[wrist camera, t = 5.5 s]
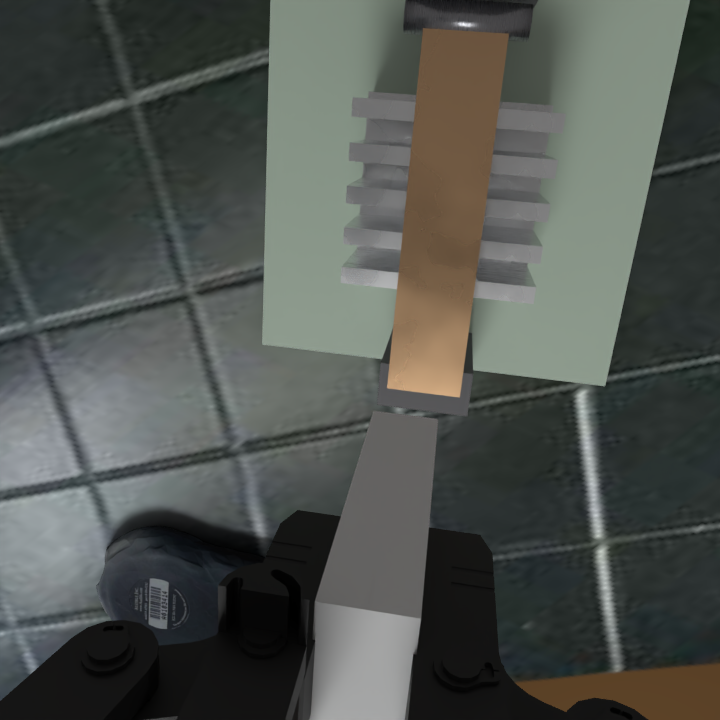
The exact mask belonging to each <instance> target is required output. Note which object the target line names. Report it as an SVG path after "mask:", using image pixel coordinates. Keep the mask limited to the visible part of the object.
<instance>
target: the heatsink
mask: <svg viewBox="0 0 720 720" xmlns="http://www.w3.org/2000/svg"><path fill="white" fill-rule="evenodd" d="M415 104H416V95H408V94H395V93H382V92H369V93H368V98H356V97H353V100H352V115H351V117H362V118H367V121H366V135H365V139H363V140H359V141H354V142H350V146H349V161H355V162H363V176H362V177H361V178H359V179H358V180H356V181H354V182H352V183H351V184H349V185H347V192H346V203H347V204H358V205H360V213H359V214H358V215H357V216H356V217H355V218H354V219H353V220H351V221H350V222H349V223H348V224H347V225H346V226H345V227H344V238H343V244H348V245H357V249H356V250H355V251H354V252H353V254H352V255H351V256H350V257H349V258H348V260H347V261H346V262H345V263H344V264H343V266H342V268H341V283H345V284H355V285H364V286H373V287H382V288H391V289H397V284H398V274H399V264H400V254H401V244H402V234H403V224H404V214H405V204H406V194H407V184H408V174H409V164H410V154H411V144H412V134H413V124H414V114H415ZM552 112H553V105H540V104H527V103H513V102H500V104H499V112H498V119H497V126H496V134H495V141H494V148H493V156H492V163H491V171H490V178H489V185H488V193H487V200H486V208H485V215H484V222H483V230H482V237H481V245H480V252H479V259H478V267H477V274H476V281H475V289H474V296H473V297H474V298H483V299H492V300H501V301H510V302H519V303H528V304H534V298H535V292H536V285H535V283H534V281H533V278H532V276H531V273H530V271H529V268H528V266H527V264H528V263H533V264H540V263H541V257H542V251H543V246H542V244H541V242H540V240H539V239H538V237H537V235H536V234H535V232H534V230H533V228H534V222H535V221H536V222H546V223H547V222H548V216H549V210H550V205H551V204H550V203H549V202H548V201H547V200H546V199H545V198H544V197H543V196H542V195H541V194H540V193H539V191H540V185H541V179H542V178H548V179H555V175H556V169H557V164H558V160H557V159H555V158H552V157H550V156H548V155H546V149H547V142H548V136H549V133H561V134H563V128H564V123H565V117H566V114H564V113H552Z"/></svg>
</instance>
